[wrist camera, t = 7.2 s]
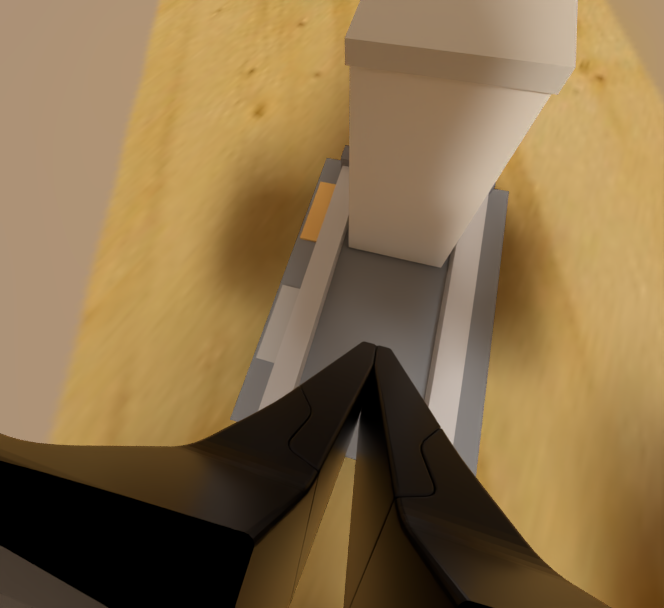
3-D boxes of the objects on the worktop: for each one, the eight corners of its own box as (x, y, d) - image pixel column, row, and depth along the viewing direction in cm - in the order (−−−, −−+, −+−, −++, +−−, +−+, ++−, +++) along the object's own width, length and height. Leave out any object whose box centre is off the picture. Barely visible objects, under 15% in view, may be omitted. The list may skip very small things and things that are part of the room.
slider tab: (442, 269, 16) (575, 67, 7) (346, 248, 17) (344, 37, 7) (454, 205, 17) (578, -40, 8) (364, 187, 18) (383, -56, 9)
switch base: (460, 489, 14) (489, 508, 11) (240, 419, 16) (216, 419, 13) (496, 207, 19) (522, 172, 16) (328, 175, 21) (325, 137, 18)
